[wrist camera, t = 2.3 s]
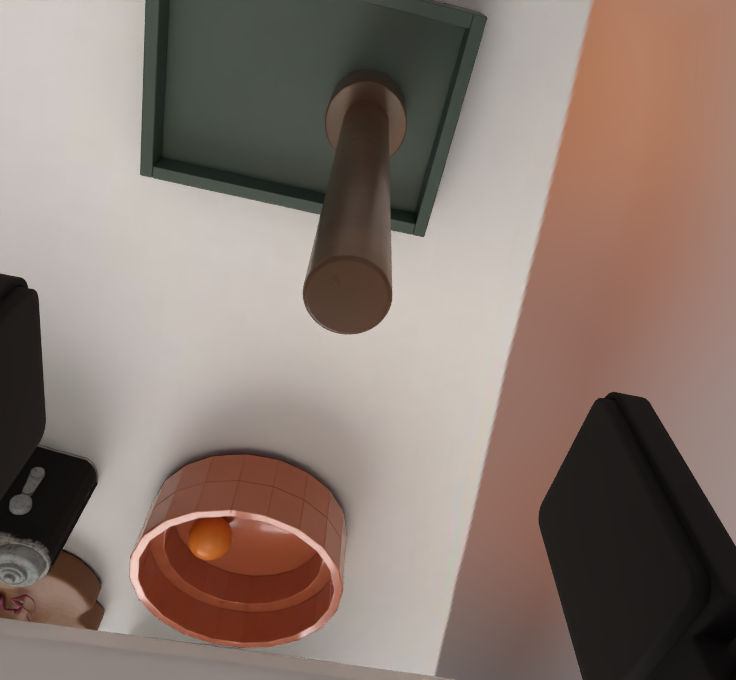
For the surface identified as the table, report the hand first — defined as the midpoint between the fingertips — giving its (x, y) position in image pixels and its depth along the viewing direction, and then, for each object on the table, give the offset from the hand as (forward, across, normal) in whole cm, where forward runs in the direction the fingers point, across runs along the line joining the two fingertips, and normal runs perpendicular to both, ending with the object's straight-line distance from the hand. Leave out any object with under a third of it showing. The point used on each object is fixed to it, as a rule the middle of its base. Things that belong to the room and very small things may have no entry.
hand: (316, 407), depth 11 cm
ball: (+22, +4, +30) cm, 37 cm away
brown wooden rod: (+23, -1, 0) cm, 23 cm away
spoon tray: (+24, +2, 0) cm, 24 cm away
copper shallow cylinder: (+24, +1, +30) cm, 38 cm away
